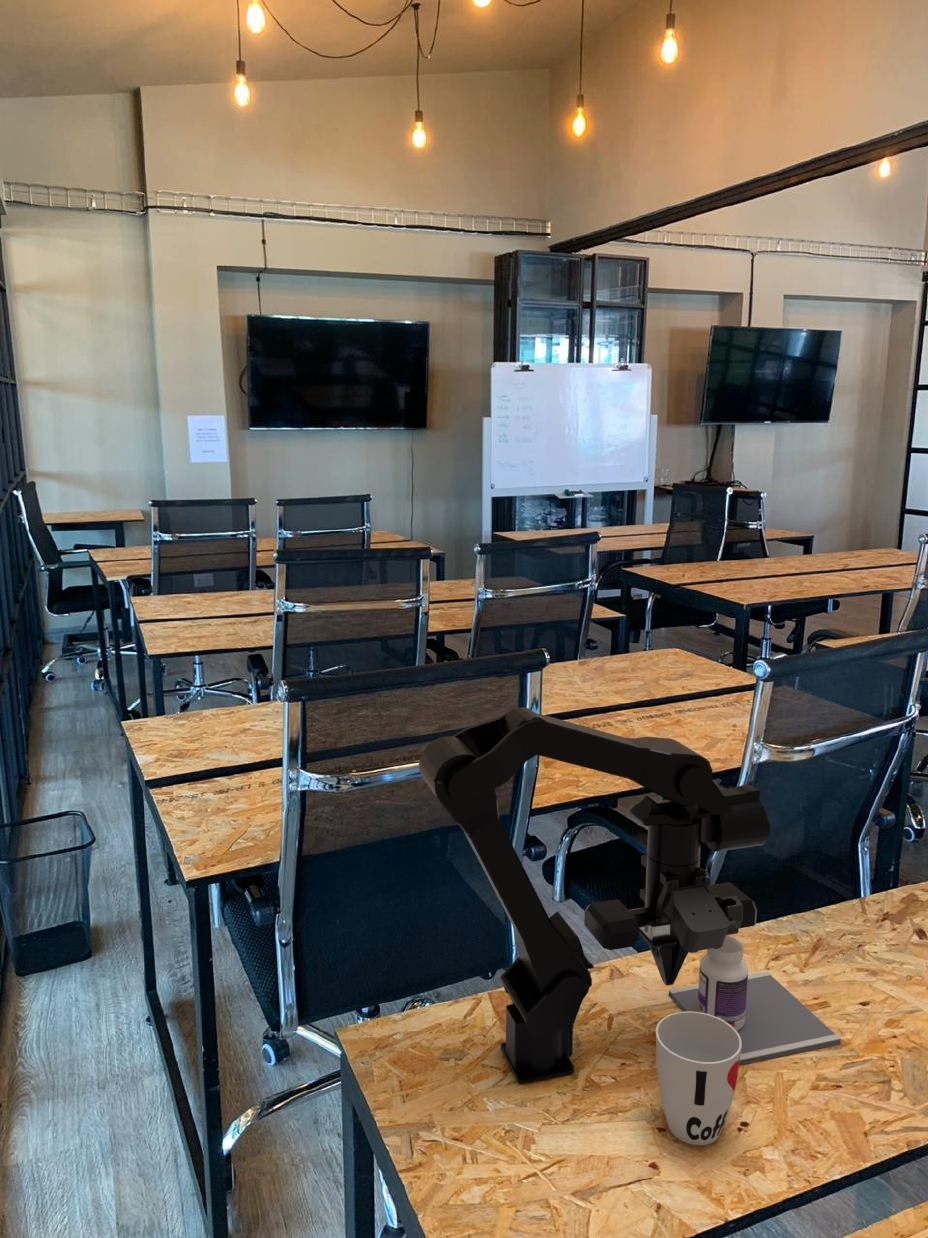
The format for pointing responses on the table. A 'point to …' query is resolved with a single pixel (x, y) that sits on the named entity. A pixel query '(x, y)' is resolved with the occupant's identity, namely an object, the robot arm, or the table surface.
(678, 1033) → the cup
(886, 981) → the table surface
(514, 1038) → the robot arm
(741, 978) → the pill bottle
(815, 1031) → the mat
